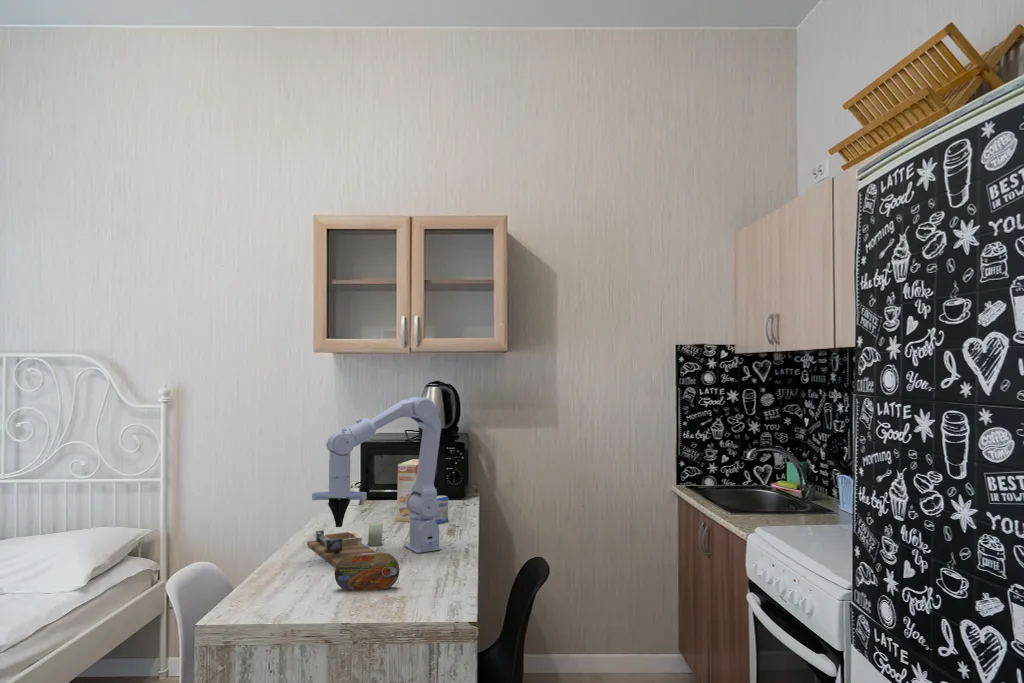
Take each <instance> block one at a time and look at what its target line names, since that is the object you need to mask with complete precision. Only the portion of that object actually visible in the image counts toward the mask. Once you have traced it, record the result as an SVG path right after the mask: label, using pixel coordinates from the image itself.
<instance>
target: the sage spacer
mask: <svg viewBox="0 0 1024 683" xmlns="http://www.w3.org/2000/svg"><path fill="white" fill-rule="evenodd" d="M368 524H369V525H368V537H367V538H368V539H367V540H368V541H367V545H368V546H373V547H375V546H376V547H378V546H382V545H383V529H384V523H383V522H370V523H368Z"/></svg>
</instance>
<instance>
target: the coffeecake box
mask: <svg viewBox="0 0 1024 683" xmlns="http://www.w3.org/2000/svg"><path fill="white" fill-rule="evenodd" d="M418 462H419V458H418V459H417V458H416V459H415V458H413V459H410V460H407V461H404V462H401V463H398V464H397V495H396V496H397V497H396V498H397V501H396V503H397V504H396V506H397V507H396V508H397V510H396V513H397V514H396V521H397V522H409V523H410V511H409V509H408V508H407V499H408V497H409V495H410V493H411V489H412V487H413V485H414V484H415V483H416V477H417V469H418Z"/></svg>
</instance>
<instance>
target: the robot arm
mask: <svg viewBox="0 0 1024 683" xmlns="http://www.w3.org/2000/svg"><path fill="white" fill-rule="evenodd" d="M399 418H410V419H412V420H413V421H415V422H416V423H417V424H418V426H420V428H421V429H422V434H421V441H420V447H419V449H420V450H419V455H418V459H419V462H418V469H417V477H416V483H415V484H414V485H413V487H412V489H411V493H410V495H409V497H408V499H407V508H408V509H409V511H410V522H409V543H405V544H404V547H406V548H408V549H409V550H411V551H413V552H414V553H416V554H418V553H419V554H420V553H426V552H432V551H433V552H435V551H441V550H442V549H443V547H441V546H440V526H439V524H437V523H436V522H435V518H434V516H435V514H436V512H437V510H438V502H437V496H438V492H437V489H436V487H435V484H434V483H435V478H436V469H437V463H438V455H439V448H440V440H441V439H440V438H441V433H442V422H441V419H440V416H439V414H438V405H437V404H436V403H435V402H434V401H433V399H431V398H429V397H422V396H421V397H419V396H412V395H411V396H409V397H407V398H406V399H402V400H400V401H399V402H397V403H396V404H394V405H392V406H391V407H389V408H386V409H385V410H384V411H382V412H380V413H379V414H377V415H376V416H374V417H372V418H371V419H369V418H365V417H364V418H363V419H362V418H360V417H359V418H358V419H356V420H355V421H356V422H355V423H353V424H352V425H349V426H348V427H342V428H341V432H334V433H332V434H331V435H330V436H329V437H328V438H327V442H326V443H325V446H326V448H327V450H328V451H329V460H328V491H314V492H313V493H311V500H312V501H320V500H321V501H328V502H327V504H328V507H329V509H330V511H331V513H332V516H333V520H334V522H335V527H336V528H342V527H343V523H344V518H345V515H346V512H347V509H348V507H349V506H350V505H349V504H350V502H351V501H366V500H367V492H366V491H355V490H354V491H351V453H352V451H353V450H354V448H355V447H357V446H359V445H361V444H363V443H365V442H366V441H368V440H369V439H371V438H373V437H374V436H375V435H376V433H377V430H378V429H380V428H382V427H384V426H386V425H389V424H390V423H392V422H394V421H396V420H398V419H399Z"/></svg>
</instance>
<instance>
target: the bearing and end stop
mask: <svg viewBox="0 0 1024 683" xmlns="http://www.w3.org/2000/svg"><path fill="white" fill-rule="evenodd" d="M319 534H323V535H324V536H325V531H324V530H323V529H322V530H316V531H315V541H316V542H322V541H321V540H320V539H319V538H318V535H319ZM332 542H338V543H340V544H341V545H342V538H335V539H327V540H325V552H326V553H330V543H332ZM341 551H342V550H341Z"/></svg>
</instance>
